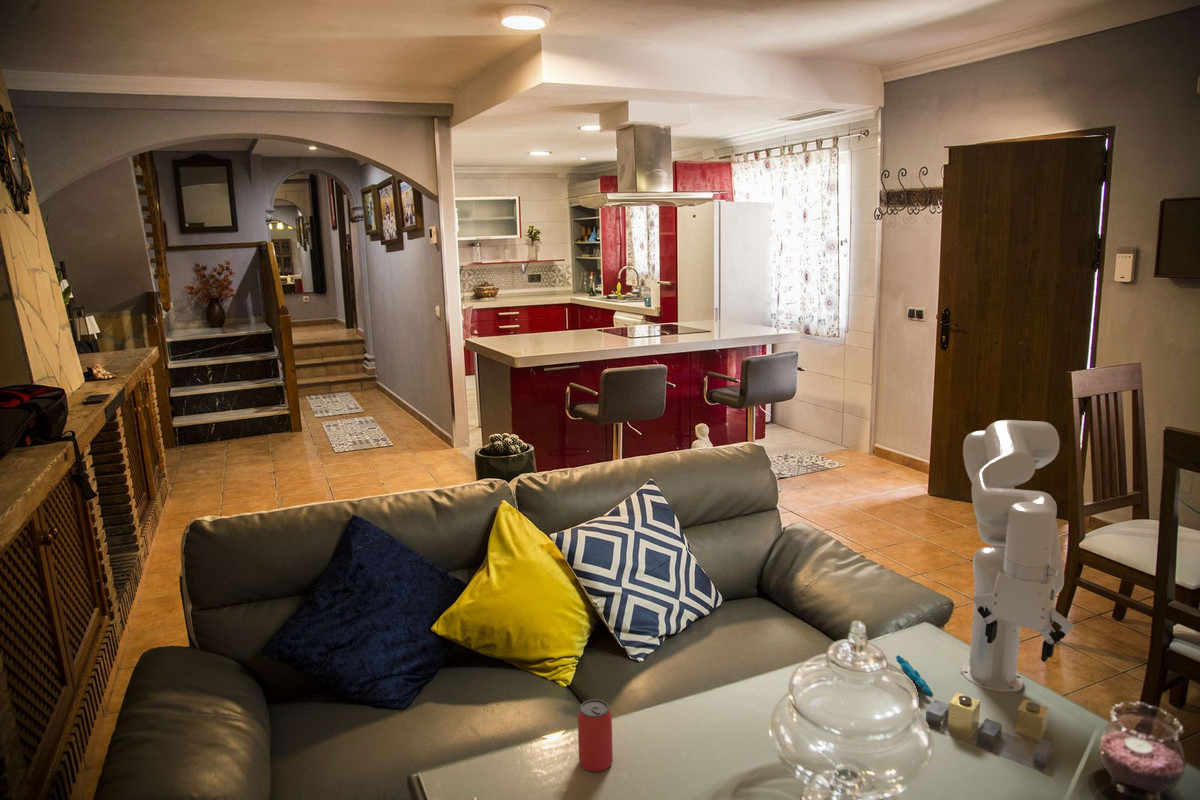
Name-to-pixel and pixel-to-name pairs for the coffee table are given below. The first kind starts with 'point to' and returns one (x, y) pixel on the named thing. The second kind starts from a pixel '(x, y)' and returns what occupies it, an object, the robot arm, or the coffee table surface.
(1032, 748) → the rail
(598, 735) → the beer can
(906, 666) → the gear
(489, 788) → the coffee table surface
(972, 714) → the seated nut block
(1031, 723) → the brass nut block
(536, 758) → the coffee table surface
